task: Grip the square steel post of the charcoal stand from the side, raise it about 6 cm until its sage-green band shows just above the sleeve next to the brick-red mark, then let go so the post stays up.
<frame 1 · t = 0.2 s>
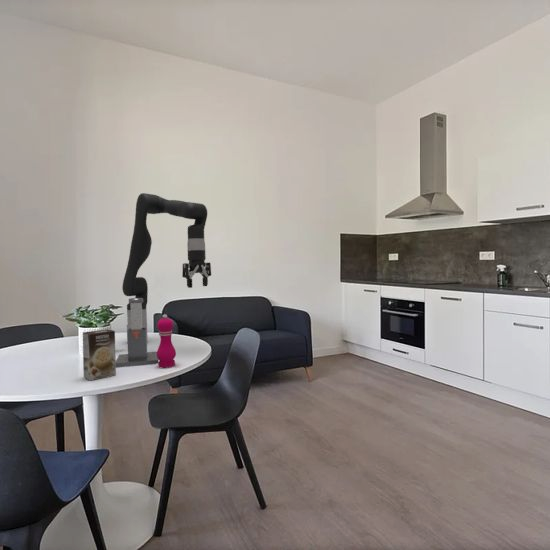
hand: (197, 286, 171), 29 cm above the table, tool pointing down, fingers open, 8 cm apart
coffee box: (100, 376, 140), on the table
post: (136, 327, 161), point 14 cm above the table, slide at 0.0 cm
pepper mill: (166, 366, 153), on the table
stand: (138, 360, 162), on the table
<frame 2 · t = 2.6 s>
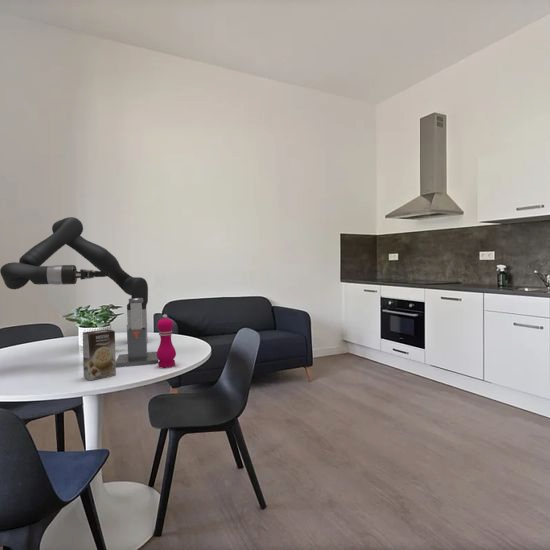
hand: (107, 273, 158), 36 cm above the table, tool horizontal, fingers open, 8 cm apart
nothing on the table moved.
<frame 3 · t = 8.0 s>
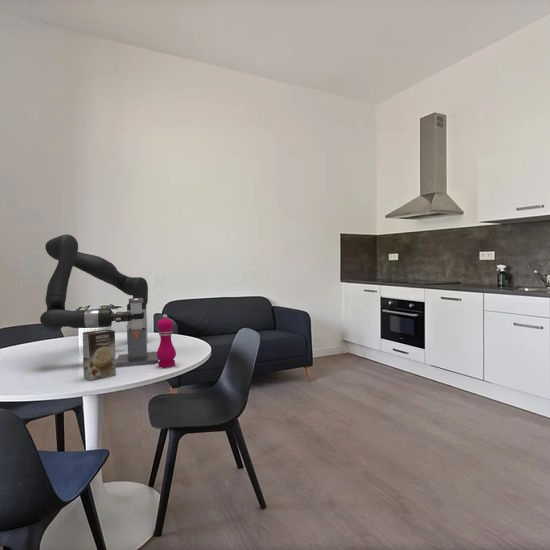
hand: (143, 315, 162), 18 cm above the table, tool horizontal, fingers closed on post, 4 cm apart
post: (136, 327, 161), point 14 cm above the table, slide at 0.0 cm, touching gripper
everything else where it was.
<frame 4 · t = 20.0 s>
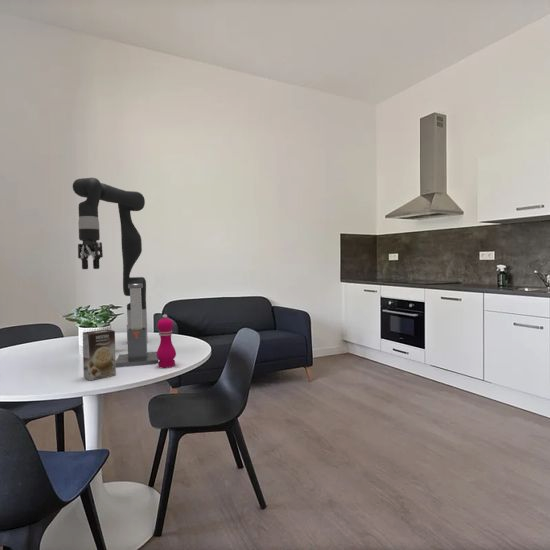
hand: (90, 269, 158), 38 cm above the table, tool pointing down, fingers open, 8 cm apart
post: (136, 312, 161), point 20 cm above the table, slide at 5.9 cm
everything else where it was.
at the end: post slide at 5.9 cm; the gripper is holding nothing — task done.
